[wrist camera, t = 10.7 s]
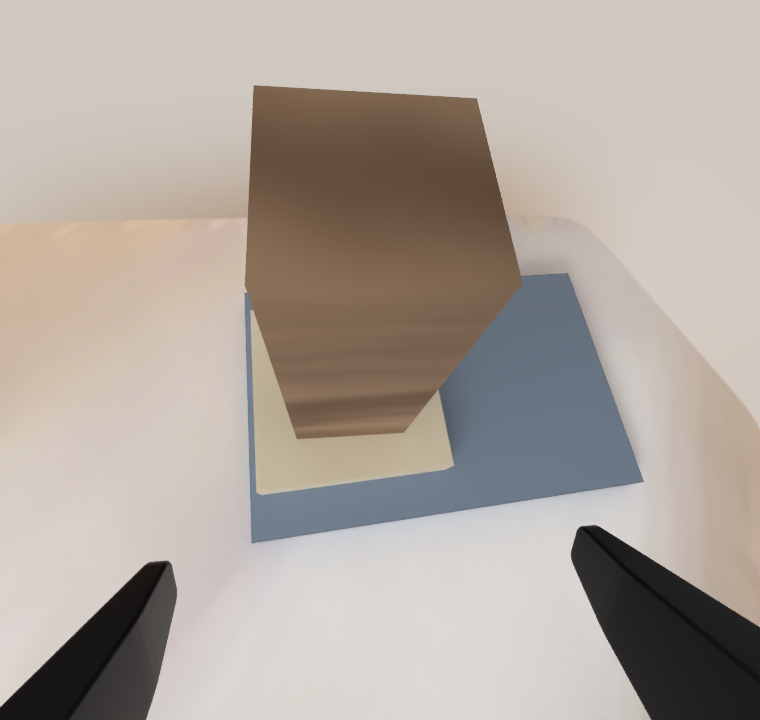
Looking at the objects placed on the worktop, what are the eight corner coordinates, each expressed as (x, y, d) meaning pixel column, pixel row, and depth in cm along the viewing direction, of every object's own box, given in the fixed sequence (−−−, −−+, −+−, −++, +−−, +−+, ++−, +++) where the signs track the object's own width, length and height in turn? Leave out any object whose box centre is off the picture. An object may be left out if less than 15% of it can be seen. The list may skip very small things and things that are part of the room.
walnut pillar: (403, 433, 20) (522, 283, 8) (296, 439, 19) (245, 285, 7) (393, 338, 21) (476, 98, 10) (296, 340, 21) (253, 85, 9)
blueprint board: (559, 281, 27) (581, 259, 25) (630, 483, 23) (665, 478, 20) (247, 301, 24) (239, 277, 22) (255, 542, 19) (245, 544, 17)
